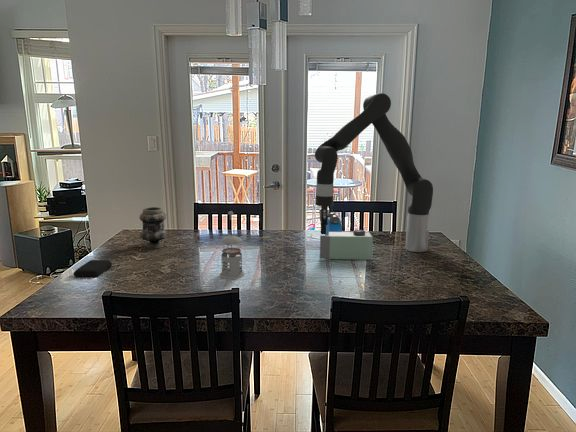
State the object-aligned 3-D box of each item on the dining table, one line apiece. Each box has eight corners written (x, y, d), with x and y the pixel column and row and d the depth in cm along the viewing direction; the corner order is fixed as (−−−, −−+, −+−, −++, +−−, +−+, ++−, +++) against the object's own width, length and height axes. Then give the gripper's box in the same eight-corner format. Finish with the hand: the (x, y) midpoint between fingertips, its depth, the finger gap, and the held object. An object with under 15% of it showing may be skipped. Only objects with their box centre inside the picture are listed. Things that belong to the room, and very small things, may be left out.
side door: (371, 258, 182) (372, 236, 180) (371, 259, 181) (372, 236, 179) (319, 257, 182) (320, 235, 180) (319, 258, 182) (320, 236, 179)
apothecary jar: (173, 244, 202) (171, 207, 198) (152, 251, 192) (150, 212, 188) (155, 240, 208) (153, 204, 204) (135, 246, 198) (132, 209, 194)
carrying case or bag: (99, 279, 159) (116, 266, 173) (99, 271, 158) (115, 259, 172) (71, 278, 159) (90, 265, 173) (70, 271, 158) (90, 258, 173)
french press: (224, 280, 157) (222, 214, 152) (214, 271, 167) (212, 208, 162) (248, 276, 162) (247, 212, 156) (237, 267, 172) (236, 206, 166)
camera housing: (368, 253, 190) (369, 229, 187) (371, 259, 182) (372, 233, 180) (327, 253, 191) (328, 228, 188) (329, 258, 183) (329, 233, 180)
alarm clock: (341, 248, 198) (342, 217, 195) (328, 248, 198) (329, 217, 194) (336, 240, 211) (337, 211, 207) (323, 240, 210) (324, 211, 207)
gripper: (334, 197, 172) (333, 238, 176) (332, 191, 185) (330, 230, 189) (316, 196, 173) (314, 237, 176) (315, 191, 185) (314, 229, 189)
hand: (323, 233), depth 183 cm, fingers closed
